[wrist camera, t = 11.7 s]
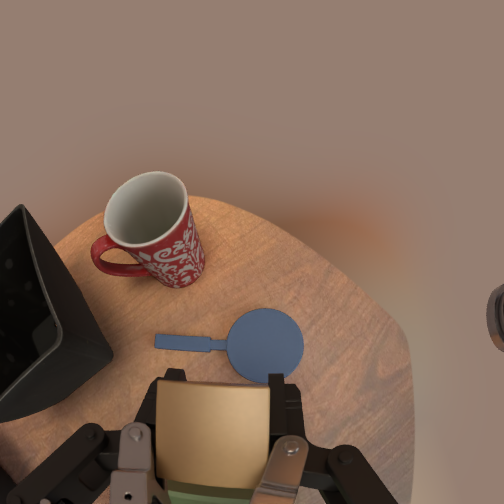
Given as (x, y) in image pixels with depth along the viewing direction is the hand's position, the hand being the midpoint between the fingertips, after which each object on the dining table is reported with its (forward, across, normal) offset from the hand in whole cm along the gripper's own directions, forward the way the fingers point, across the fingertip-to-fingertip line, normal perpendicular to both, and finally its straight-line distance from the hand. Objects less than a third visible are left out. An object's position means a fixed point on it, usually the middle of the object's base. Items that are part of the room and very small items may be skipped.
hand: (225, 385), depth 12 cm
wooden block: (+2, 0, +4) cm, 4 cm away
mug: (+25, +11, +4) cm, 27 cm away
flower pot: (+16, +26, +13) cm, 33 cm away
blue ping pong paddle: (+17, +3, +11) cm, 21 cm away
